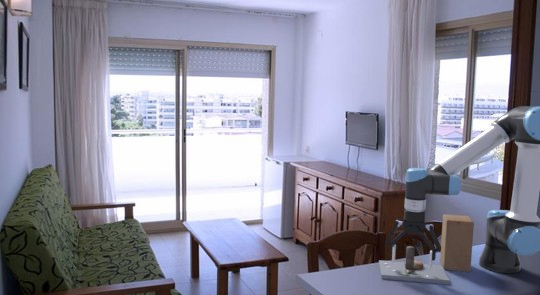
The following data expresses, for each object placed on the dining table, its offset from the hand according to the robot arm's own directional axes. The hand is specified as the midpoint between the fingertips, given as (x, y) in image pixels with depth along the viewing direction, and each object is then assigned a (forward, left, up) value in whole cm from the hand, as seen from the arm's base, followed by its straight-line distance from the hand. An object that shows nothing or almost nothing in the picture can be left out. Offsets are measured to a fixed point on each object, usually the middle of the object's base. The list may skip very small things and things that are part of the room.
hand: (411, 265), depth 178 cm
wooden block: (-19, -15, -4) cm, 24 cm away
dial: (0, -3, -2) cm, 4 cm away
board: (-1, -3, -4) cm, 5 cm away
